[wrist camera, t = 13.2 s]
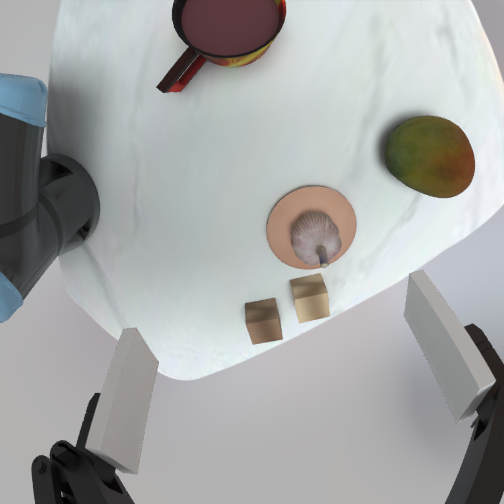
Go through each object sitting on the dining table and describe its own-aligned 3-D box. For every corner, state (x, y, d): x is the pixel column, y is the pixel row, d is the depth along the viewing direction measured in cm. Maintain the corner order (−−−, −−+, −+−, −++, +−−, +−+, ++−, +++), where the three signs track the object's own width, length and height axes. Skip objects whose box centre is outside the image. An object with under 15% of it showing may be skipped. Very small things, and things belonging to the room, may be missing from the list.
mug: (176, 90, 33) (147, 93, 22) (205, -7, 26) (189, -42, 16) (251, 106, 34) (255, 114, 24) (281, 9, 27) (298, -21, 17)
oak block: (294, 302, 51) (298, 323, 46) (289, 279, 48) (294, 299, 44) (323, 296, 50) (330, 316, 46) (320, 272, 48) (327, 292, 43)
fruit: (450, 174, 39) (489, 199, 30) (385, 198, 41) (417, 229, 32) (438, 103, 33) (482, 114, 25) (366, 123, 35) (401, 137, 27)
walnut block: (252, 323, 53) (252, 344, 49) (245, 303, 50) (245, 324, 46) (279, 318, 52) (282, 339, 48) (274, 297, 50) (277, 318, 46)
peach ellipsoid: (275, 272, 47) (276, 277, 46) (257, 194, 40) (257, 198, 39) (355, 255, 46) (358, 259, 45) (350, 176, 39) (352, 179, 38)
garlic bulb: (321, 261, 45) (334, 295, 38) (277, 246, 43) (284, 279, 36) (346, 218, 41) (365, 247, 34) (300, 199, 40) (312, 226, 33)
